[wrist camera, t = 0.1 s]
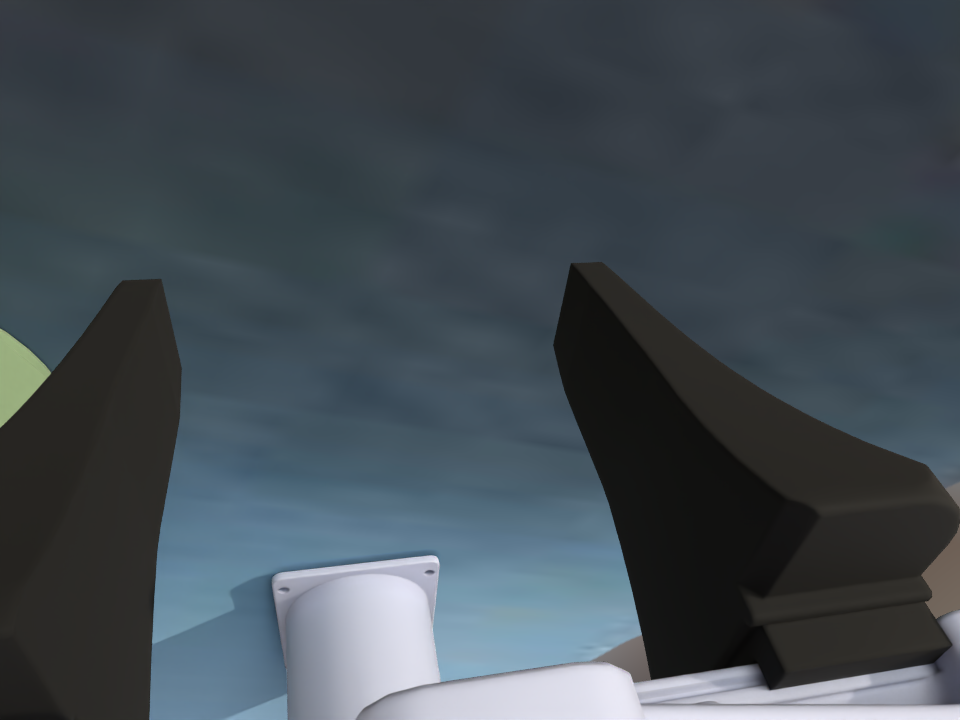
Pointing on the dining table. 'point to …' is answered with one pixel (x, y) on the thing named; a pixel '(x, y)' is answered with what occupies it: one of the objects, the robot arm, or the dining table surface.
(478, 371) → the dining table surface
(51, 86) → the dining table surface
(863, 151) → the dining table surface
